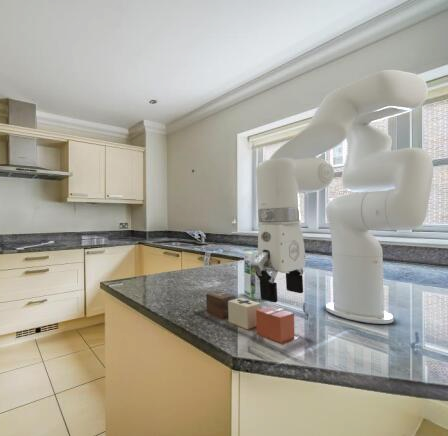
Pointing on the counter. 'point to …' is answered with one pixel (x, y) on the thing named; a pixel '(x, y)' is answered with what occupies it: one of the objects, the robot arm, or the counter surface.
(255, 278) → the syrup box
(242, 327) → the word board
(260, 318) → the orange block
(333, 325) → the counter surface
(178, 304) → the counter surface
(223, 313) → the dark wood block
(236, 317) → the cross-marked cream cube
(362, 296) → the robot arm
